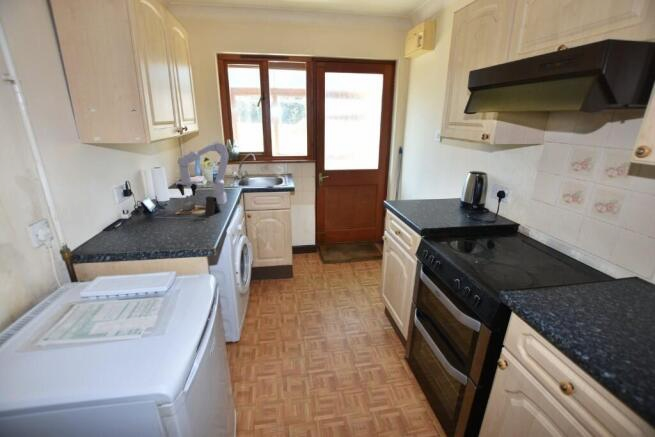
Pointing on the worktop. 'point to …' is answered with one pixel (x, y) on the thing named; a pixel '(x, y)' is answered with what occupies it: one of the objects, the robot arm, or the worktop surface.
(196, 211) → the board
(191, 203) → the bar
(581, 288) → the worktop surface
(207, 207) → the phone stand
